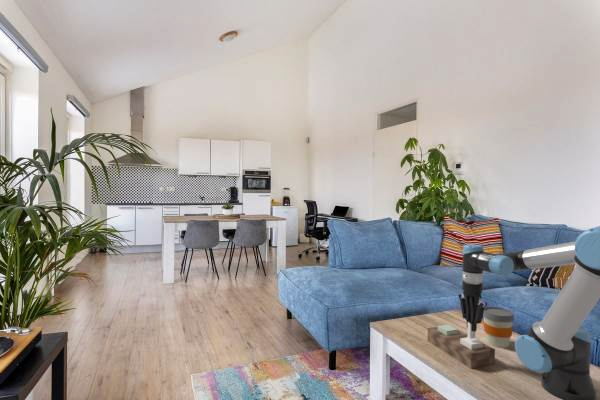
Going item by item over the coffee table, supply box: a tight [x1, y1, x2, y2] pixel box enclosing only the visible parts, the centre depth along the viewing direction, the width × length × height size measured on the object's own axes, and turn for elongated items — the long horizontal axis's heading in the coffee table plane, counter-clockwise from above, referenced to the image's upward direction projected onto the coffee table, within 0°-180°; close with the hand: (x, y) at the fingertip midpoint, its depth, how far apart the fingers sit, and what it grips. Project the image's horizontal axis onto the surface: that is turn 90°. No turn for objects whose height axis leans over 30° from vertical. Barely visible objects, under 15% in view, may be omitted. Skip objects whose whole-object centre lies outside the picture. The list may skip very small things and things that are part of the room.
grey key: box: [460, 337, 484, 350], centre depth 141 cm, size 6×6×5 cm
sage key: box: [437, 324, 459, 335], centre depth 155 cm, size 6×6×5 cm
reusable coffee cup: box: [482, 306, 515, 349], centre depth 156 cm, size 13×13×15 cm
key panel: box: [427, 326, 496, 370], centre depth 148 cm, size 26×12×6 cm, turn 18°
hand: (471, 337), depth 141 cm, fingers closed
